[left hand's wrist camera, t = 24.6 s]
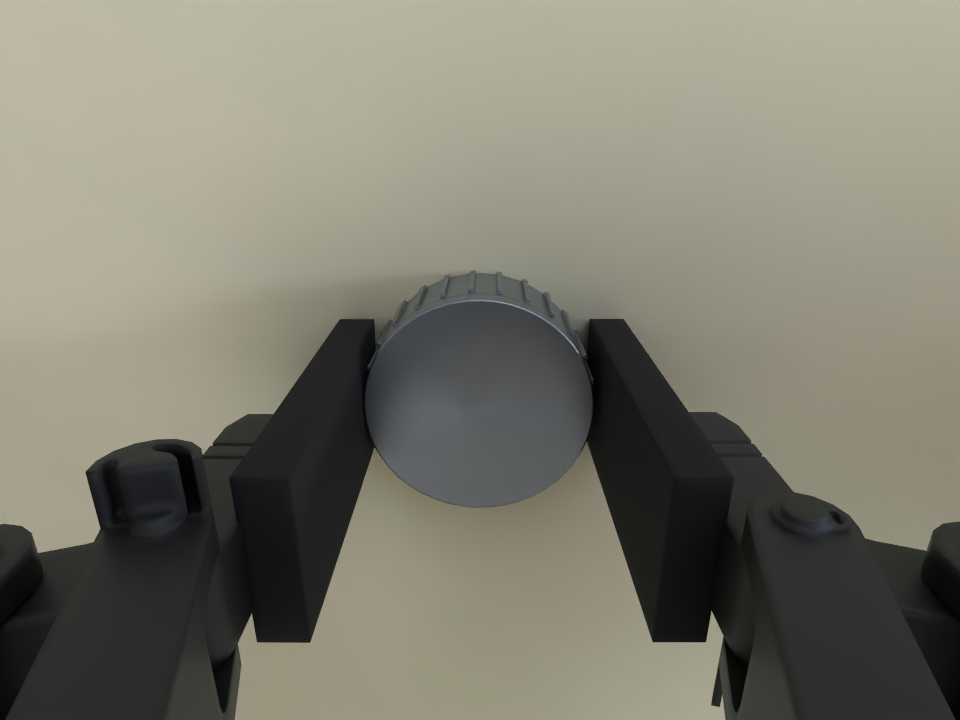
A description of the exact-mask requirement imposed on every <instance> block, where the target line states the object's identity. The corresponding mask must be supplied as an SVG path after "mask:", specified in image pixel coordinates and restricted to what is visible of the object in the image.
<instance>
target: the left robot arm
mask: <svg viewBox="0 0 960 720" xmlns="http://www.w3.org/2000/svg"><path fill="white" fill-rule="evenodd" d="M375 350H376V345H375V330H374V319H340V320H339V322H338V323H337V324H336V326H335V327H334V329H333V330H332V332H331V333H330V334H329V336H328V337H327V339H326V340H325V342H324V343H323V344H322V346H321V347H320V349H319V350H318V352H317V353H316V354H315V356H314V357H313V359H312V360H311V362H310V363H309V364H308V366H307V367H306V369H305V370H304V372H303V373H302V374H301V376H300V377H299V379H298V380H297V382H296V383H295V384H294V386H293V387H292V389H291V390H290V392H289V393H288V394H287V396H286V397H285V399H284V400H283V402H282V403H281V404H280V406H279V407H278V409H277V410H276V412H275V413H274V414H247V415H246V416H244V417H242V418H241V419H239V420H237V421H236V422H234V423H232V424H231V425H229V426H227V427H226V428H225V429H224V430H223V431H222V432H221V434H220V435H219V436H218V437H217V439H216V440H215V441H214V442H213V446H210V447H209V448H208V449H207V451H206V452H205V453H204V454H203V455H202V450H201V448H200V447H198V446H197V445H195V444H194V443H192V442H188V441H184V440H179V439H161V440H152V441H147V442H142V443H136V444H133V445H130V446H127V447H124V448H121V449H119V450H116V451H113V452H111V453H110V454H108V455H106V456H104V457H103V458H101V459H99V460H97V461H96V462H95V463H94V464H93V465H92V466H91V467H90V468H89V469H88V470H87V471H86V476H87V479H88V483H89V487H90V491H91V494H92V498H93V502H94V505H95V509H96V513H97V517H98V520H99V524H100V528H101V529H100V531H99V533H98V535H97V537H96V539H95V541H94V542H93V543H89V544H85V545H79V546H74V547H69V548H64V549H58V550H53V551H48V552H43V553H38V552H37V549H36V546H35V542H34V539H33V536H32V533H31V532H29V531H28V530H26V529H25V528H24V527H22V526H16V525H9V524H0V720H235V712H236V703H237V695H238V687H239V679H240V670H241V660H240V654H239V648H238V641H239V639H240V637H241V635H242V633H243V631H244V628H245V626H246V624H247V622H248V620H249V618H250V616H251V613H252V615H253V621H254V627H255V633H256V638H257V642H302V643H310V641H311V638H312V635H313V632H314V629H315V626H316V623H317V620H318V617H319V614H320V611H321V608H322V605H323V602H324V599H325V596H326V593H327V590H328V587H329V584H330V581H331V577H332V574H333V571H334V568H335V565H336V562H337V559H338V556H339V553H340V550H341V547H342V544H343V541H344V538H345V535H346V532H347V529H348V526H349V523H350V520H351V517H352V514H353V511H354V508H355V505H356V502H357V499H358V495H359V492H360V489H361V486H362V483H363V480H364V477H365V474H366V471H367V468H368V465H369V462H370V459H371V456H372V453H373V450H374V447H375V446H374V444H373V442H372V439H371V437H370V435H369V432H368V428H367V425H366V421H365V414H364V390H365V383H366V379H367V375H368V372H369V371H367V366H368V364H369V362H370V360H371V358H372V356H373V354H374V352H375ZM587 357H588V359H587V363H588V366H589V368H590V371H591V374H592V376H593V379H594V384H592V386H593V394H594V415H593V421H592V427H591V430H590V433H589V436H588V439H587V443H588V446H589V449H590V452H591V455H592V458H593V461H594V464H595V467H596V470H597V473H598V476H599V479H600V482H601V485H602V488H603V492H604V495H605V498H606V501H607V504H608V507H609V510H610V513H611V516H612V519H613V522H614V525H615V528H616V531H617V534H618V537H619V540H620V543H621V546H622V549H623V552H624V556H625V559H626V562H627V565H628V568H629V571H630V574H631V577H632V580H633V583H634V586H635V589H636V592H637V595H638V598H639V601H640V604H641V607H642V610H643V613H644V616H645V620H646V623H647V626H648V629H649V632H650V635H651V638H652V641H653V642H706V638H707V633H708V627H709V621H710V616H711V610H712V612H713V614H714V616H715V618H716V620H717V623H718V625H719V627H720V629H721V631H722V633H723V635H724V637H723V643H722V648H721V653H720V659H719V664H718V669H717V675H716V680H715V685H714V691H713V697H712V704H711V705H713V706H717V707H720V703H721V698H722V694H723V702H724V710H725V718H726V720H960V522H953V523H946V524H942V525H941V526H939V527H938V528H936V529H935V530H934V531H933V533H932V536H931V539H930V542H929V546H928V549H927V551H924V550H918V549H913V548H908V547H903V546H897V545H892V544H887V543H882V542H877V541H873V540H869V539H865V538H864V536H863V534H862V532H861V530H860V528H859V527H858V525H857V524H856V523H855V522H854V521H853V519H852V518H851V517H850V516H849V515H848V514H846V513H845V512H843V511H842V510H840V509H839V508H837V507H836V506H834V505H832V504H830V503H828V502H825V501H823V500H820V499H818V498H815V497H813V496H809V495H804V494H799V493H795V492H793V491H792V490H791V488H790V487H789V486H788V485H787V484H786V482H785V481H784V480H783V479H782V478H781V476H780V475H779V474H778V473H777V472H776V470H775V469H774V468H773V467H772V465H771V464H770V463H769V462H768V461H767V459H766V458H765V457H762V453H761V452H760V451H759V450H758V449H757V447H756V446H755V445H754V444H751V440H750V439H749V438H748V437H747V435H746V434H745V433H744V432H743V431H742V429H741V428H740V427H739V426H738V425H737V424H735V423H733V422H732V421H730V420H728V419H727V418H725V417H723V416H722V415H720V414H718V413H716V412H688V411H687V409H686V408H685V407H684V405H683V404H682V402H681V401H680V399H679V398H678V397H677V395H676V394H675V392H674V391H673V389H672V388H671V387H670V385H669V384H668V382H667V381H666V379H665V378H664V376H663V375H662V374H661V372H660V371H659V369H658V368H657V366H656V365H655V364H654V362H653V361H652V359H651V358H650V356H649V355H648V354H647V352H646V351H645V349H644V348H643V346H642V345H641V344H640V342H639V341H638V339H637V338H636V336H635V335H634V334H633V332H632V331H631V329H630V328H629V326H628V325H627V324H626V322H625V321H624V319H590V323H589V338H588V353H587Z"/></svg>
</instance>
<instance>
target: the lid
mask: <svg viewBox="0 0 960 720" xmlns="http://www.w3.org/2000/svg"><path fill="white" fill-rule="evenodd" d="M376 347H377V348H376V350H375V352H374V354H373V356H372V358H371V360H370V362H369V364H368V366H367V371H369V372H368V375H367V379H366V383H365V390H364V414H365V421H366V425H367V428H368V432H369V435H370V437H371V439H372V442H373V444H374V446H375V448H376V450H377V451H378V453H379V455H380V456H381V458H382V459H383V461H384V462H385V463H386V464H387V466H388V467H389V468H390V469H391V470H392V471H393V472H394V473H395V474H396V475H397V476H398V477H399V478H400V479H401V480H403V481H404V482H405V483H407V484H408V485H409V486H411V487H412V488H414V489H416V490H417V491H419V492H421V493H422V494H424V495H427V496H429V497H431V498H433V499H436V500H439V501H442V502H445V503H449V504H453V505H459V506H465V507H495V506H502V505H507V504H511V503H515V502H519V501H521V500H524V499H526V498H529V497H531V496H533V495H535V494H537V493H539V492H541V491H543V490H544V489H546V488H547V487H549V486H550V485H552V484H553V483H555V482H556V481H557V480H558V479H559V478H560V477H561V476H563V475H564V474H565V473H566V472H567V470H568V469H569V468H570V467H571V466H572V465H573V463H574V462H575V461H576V459H577V458H578V456H579V455H580V453H581V452H582V450H583V448H584V445H585V443H586V441H587V439H588V436H589V433H590V430H591V427H592V421H593V415H594V394H593V386H592V384H594V379H593V376H592V374H591V371H590V368H589V366H588V363H587V360H586V359H588V357H587V354H586V352H585V349H584V347H583V344H582V342H581V339H580V336H579V334H578V332H577V331H573V329H572V326H571V323H570V321H569V318H568V315H567V313H566V311H565V310H563V311H560V310H559V308H558V307H557V306H556V305H555V304H554V303H553V302H552V301H551V299H550V296H549V294H548V293H547V292H545V293H544V294H542V293H541V292H539V291H538V290H536V289H535V288H533V287H531V286H529V285H528V282H527V281H526V280H524V279H523V280H522V282H520V281H518V280H515V279H512V278H509V277H504V276H502V273H501V272H497V275H493V274H476V271H471V273H470V274H467V275H461V276H455V277H452V278H450V275H447V276H445V277H444V280H442V281H440V282H438V283H436V284H433V285H431V286H429V287H428V288H427V287H426V285H424V286H422V287H421V289H420V292H419V293H418V294H417V295H416V296H415V297H413V298H412V299H411V300H410V301H409V302H406V301H404V302H403V303H402V304H401V306H400V308H399V310H398V312H397V314H396V316H395V318H394V320H393V321H391V320H389V321H388V323H387V325H386V327H385V329H384V331H383V333H382V335H381V337H380V339H379V341H378V343H377V345H376Z"/></svg>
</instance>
